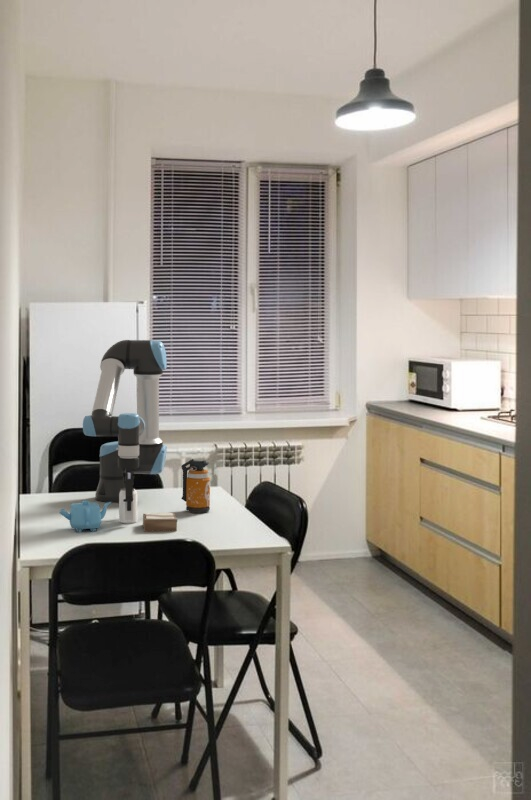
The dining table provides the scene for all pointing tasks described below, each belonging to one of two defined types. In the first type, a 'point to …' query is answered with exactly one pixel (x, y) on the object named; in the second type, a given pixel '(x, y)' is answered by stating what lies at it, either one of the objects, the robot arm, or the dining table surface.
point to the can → (122, 507)
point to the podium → (159, 522)
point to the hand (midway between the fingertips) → (128, 515)
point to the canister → (196, 486)
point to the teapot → (85, 515)
